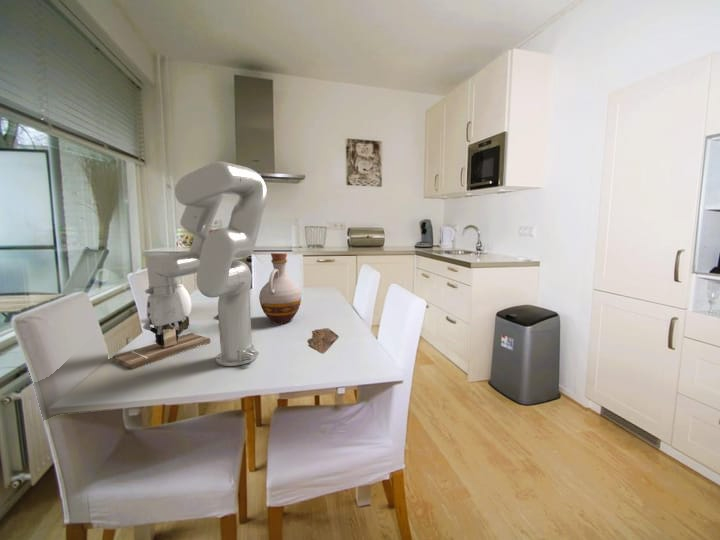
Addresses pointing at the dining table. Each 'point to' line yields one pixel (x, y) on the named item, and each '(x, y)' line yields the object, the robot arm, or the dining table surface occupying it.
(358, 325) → the dining table surface
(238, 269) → the robot arm
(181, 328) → the hand tool
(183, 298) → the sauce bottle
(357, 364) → the dining table surface
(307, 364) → the dining table surface
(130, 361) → the board
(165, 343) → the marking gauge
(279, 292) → the jug
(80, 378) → the dining table surface
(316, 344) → the wooden fragment
